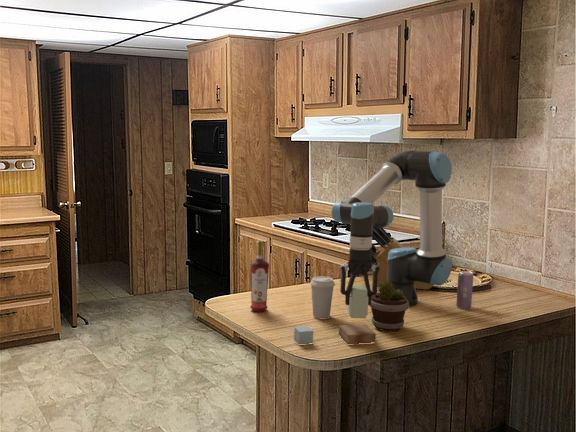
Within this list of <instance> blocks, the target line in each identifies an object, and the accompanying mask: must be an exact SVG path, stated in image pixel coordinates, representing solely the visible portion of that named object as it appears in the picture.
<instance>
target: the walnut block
mask: <svg viewBox="0 0 576 432" xmlns="http://www.w3.org/2000/svg"><path fill="white" fill-rule="evenodd" d="M339 335H340V336H341V338H342V339H343V340H344V341H345V342H346V343H347V344H359V343H371V342H375V343H376V339H377V338H376V337H377V333H376V332H375V331H374V330H373V329H372V328H370V327H369V326H368V325H367V324H364V323H363V324H348V325H347V324H344V325H338V336H339ZM341 338H340V339H341ZM342 339H341V340H342ZM343 340H342V341H343ZM344 341H343V342H344ZM345 342H344V343H345ZM346 343H345V344H346ZM347 344H346V345H347Z"/></svg>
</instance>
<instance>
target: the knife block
mask: <svg viewBox="0 0 576 432" xmlns="http://www.w3.org/2000/svg"><path fill="white" fill-rule="evenodd" d="M372 240H374V241H375V242H376V243H377V244H378V246H380V247H381V248H380V249H377V248H376V245H374V244H373V243H372V247H371V248H370V249H371V250H372V253H371V262H372V264H373V265H375V266H376V265H377V266H378V267H379V268H380V269H379V272H378V280H377V288H380V286H379V285H380V284H381V282H383V280H385V279H386V278H387V263H388V260H387V259H388V253H389V251H390V250H392V249H395V248H404V246H403V245H402V244H401V243H400V241H398V240H397V239H396V238H395V237H393V236H392V237H391V235H390V234H389V233H388V231H386V229H385V227H383V228H375V229H373V232H372ZM384 278H385V279H384ZM380 281H381V282H380ZM433 286H434V285H431V284H426V283H422V282H417V281H415V289H421V290H424V291H425V290H430V289H431V288H433Z"/></svg>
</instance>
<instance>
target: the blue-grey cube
mask: <svg viewBox="0 0 576 432" xmlns="http://www.w3.org/2000/svg"><path fill="white" fill-rule="evenodd" d="M294 340H295V341H296V342H297V343H298V344H309V343H313V344H314V330H313V329H312V328H311V327H310V326H309V325H304V326H295V327H294V329H293V341H294ZM298 344H297V345H298Z"/></svg>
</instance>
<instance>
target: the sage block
mask: <svg viewBox="0 0 576 432" xmlns="http://www.w3.org/2000/svg"><path fill="white" fill-rule="evenodd" d="M350 295H351V296H352V308H351V315H349V316H350V318H351V319H367V315H366V310H367V289H366V286H365V285H364V286H363V285H353V287H352V290H351V293H350Z"/></svg>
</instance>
